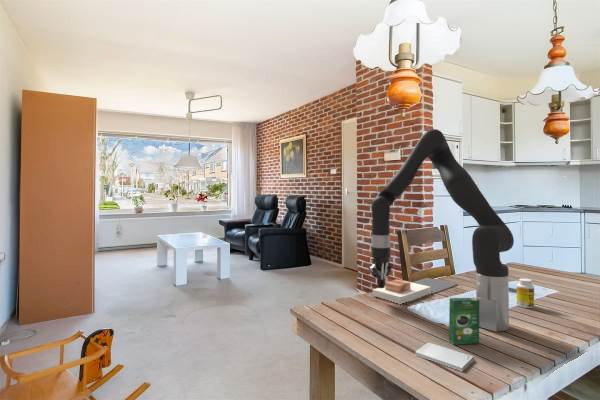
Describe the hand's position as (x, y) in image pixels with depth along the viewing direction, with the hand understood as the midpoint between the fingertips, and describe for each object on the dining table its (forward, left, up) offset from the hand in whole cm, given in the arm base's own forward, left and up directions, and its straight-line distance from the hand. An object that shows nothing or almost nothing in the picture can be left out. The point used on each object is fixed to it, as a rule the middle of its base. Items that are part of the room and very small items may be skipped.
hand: (381, 287), depth 136 cm
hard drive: (-24, -40, -7) cm, 47 cm away
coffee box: (-11, -39, -6) cm, 41 cm away
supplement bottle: (+37, -39, -6) cm, 54 cm away
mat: (+36, 0, -6) cm, 36 cm away
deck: (+14, 0, -6) cm, 15 cm away
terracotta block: (+11, 0, -3) cm, 11 cm away
